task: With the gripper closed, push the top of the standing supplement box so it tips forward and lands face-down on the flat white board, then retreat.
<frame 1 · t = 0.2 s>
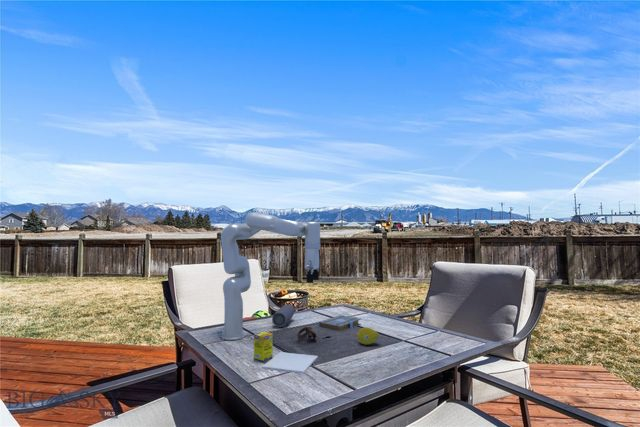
hand: (312, 281, 171), 31 cm above the table, tool pointing down, fingers open, 9 cm apart
flat white board: (291, 362, 147), on the table
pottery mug: (308, 341, 176), on the table
bluetooth speaker: (283, 324, 209), on the table
lemon: (367, 344, 170), on the table
book: (340, 327, 203), on the table
supplement box: (263, 359, 150), on the table
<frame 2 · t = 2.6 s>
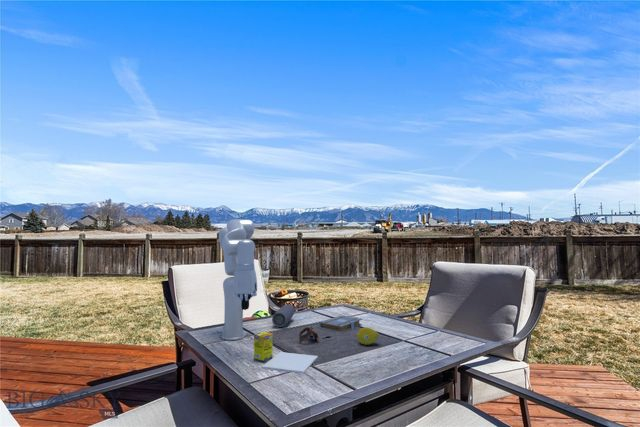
hand: (245, 309, 154), 21 cm above the table, tool pointing down, fingers closed
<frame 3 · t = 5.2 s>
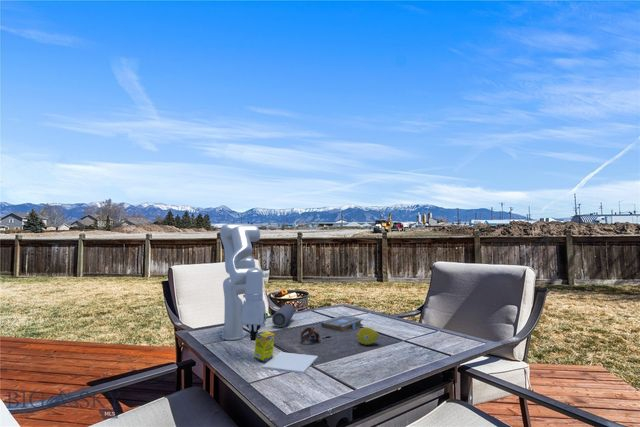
hand: (254, 339, 152), 8 cm above the table, tool pointing down, fingers closed
supplement box: (263, 359, 150), on the table, touching gripper
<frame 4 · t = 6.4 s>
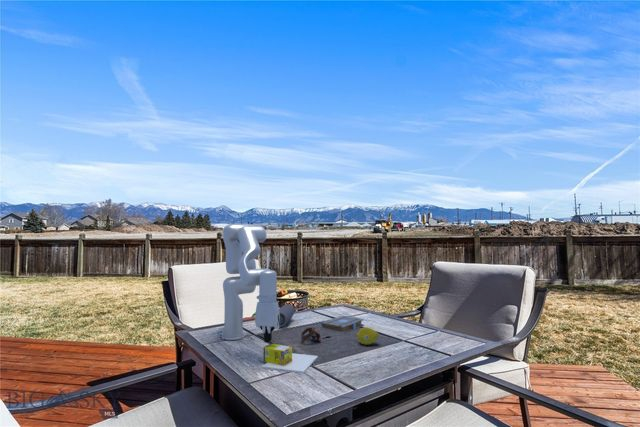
hand: (267, 341, 150), 8 cm above the table, tool pointing down, fingers closed
supplement box: (267, 352, 149), point 4 cm above the table, touching flat white board
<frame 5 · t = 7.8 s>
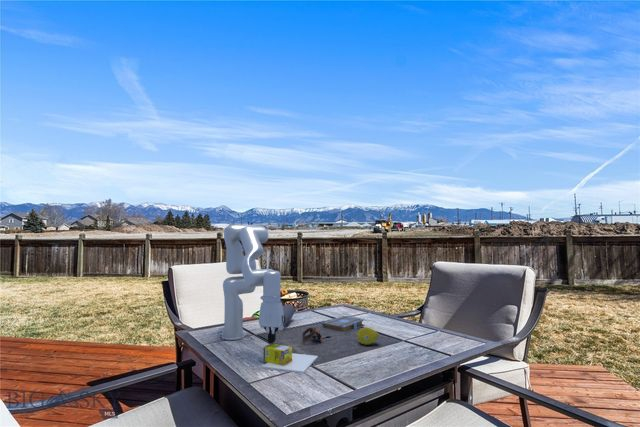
hand: (271, 342, 150), 8 cm above the table, tool pointing down, fingers closed
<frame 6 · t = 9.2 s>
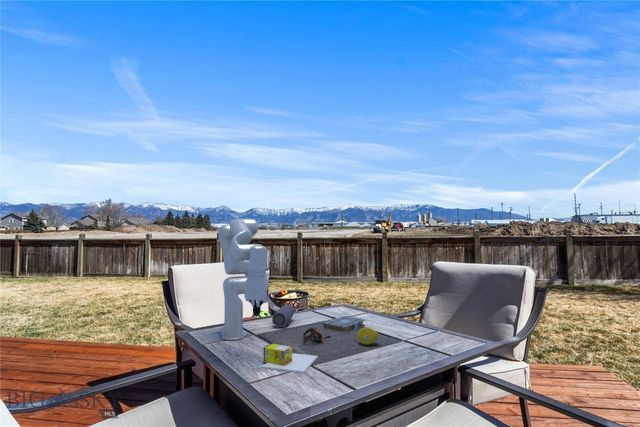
hand: (256, 315, 153), 19 cm above the table, tool pointing down, fingers closed
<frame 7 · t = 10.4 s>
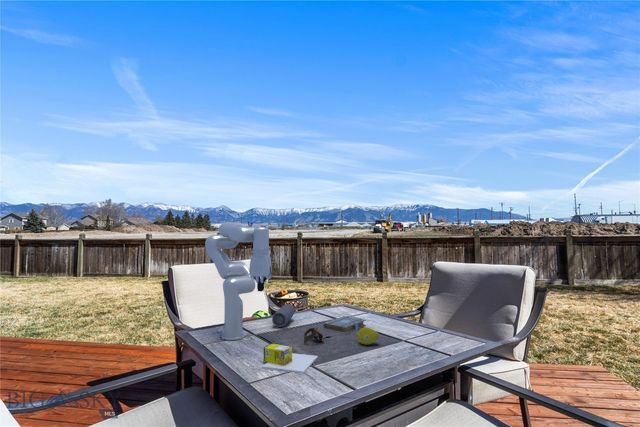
hand: (260, 290, 167), 27 cm above the table, tool pointing down, fingers closed
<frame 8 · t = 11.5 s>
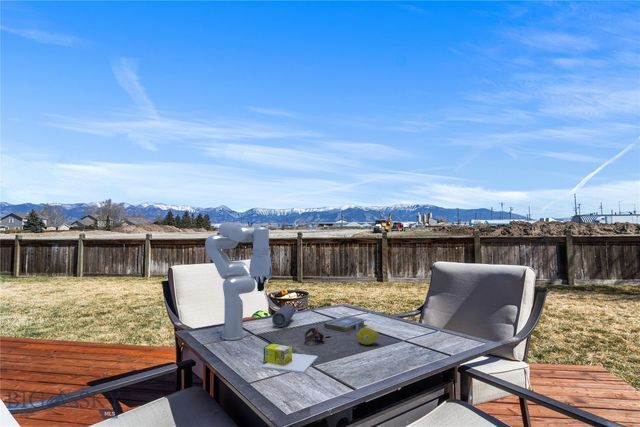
hand: (260, 290, 167), 27 cm above the table, tool pointing down, fingers closed
at the end: supplement box tilted 89°; supplement box inside the target area (8.3 cm from its centre), point 3.5 cm above the table; supplement box moved 4.2 cm from its start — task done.
